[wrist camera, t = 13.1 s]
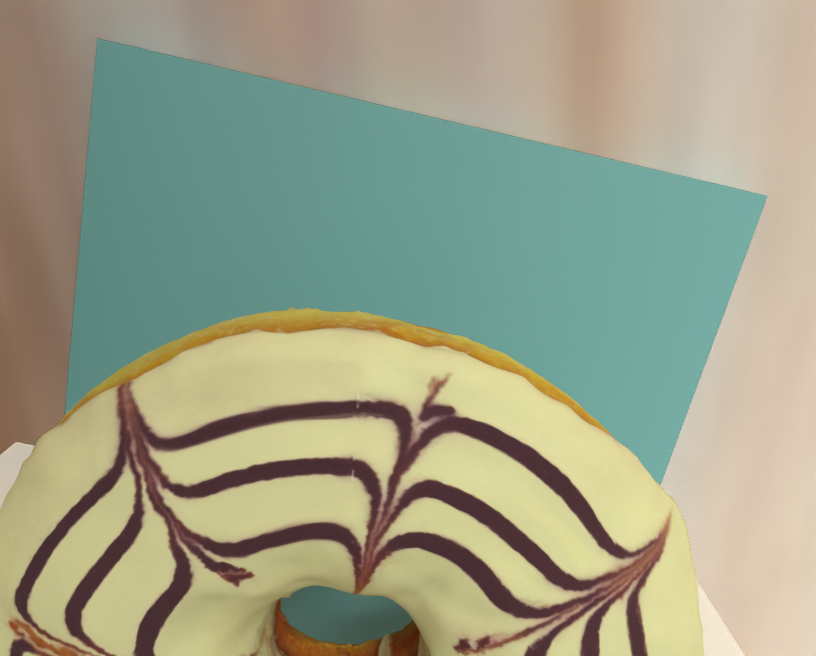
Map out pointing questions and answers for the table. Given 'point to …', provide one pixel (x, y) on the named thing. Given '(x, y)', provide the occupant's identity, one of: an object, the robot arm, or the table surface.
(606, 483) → the decorated donut
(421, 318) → the mat
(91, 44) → the table surface
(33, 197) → the table surface
